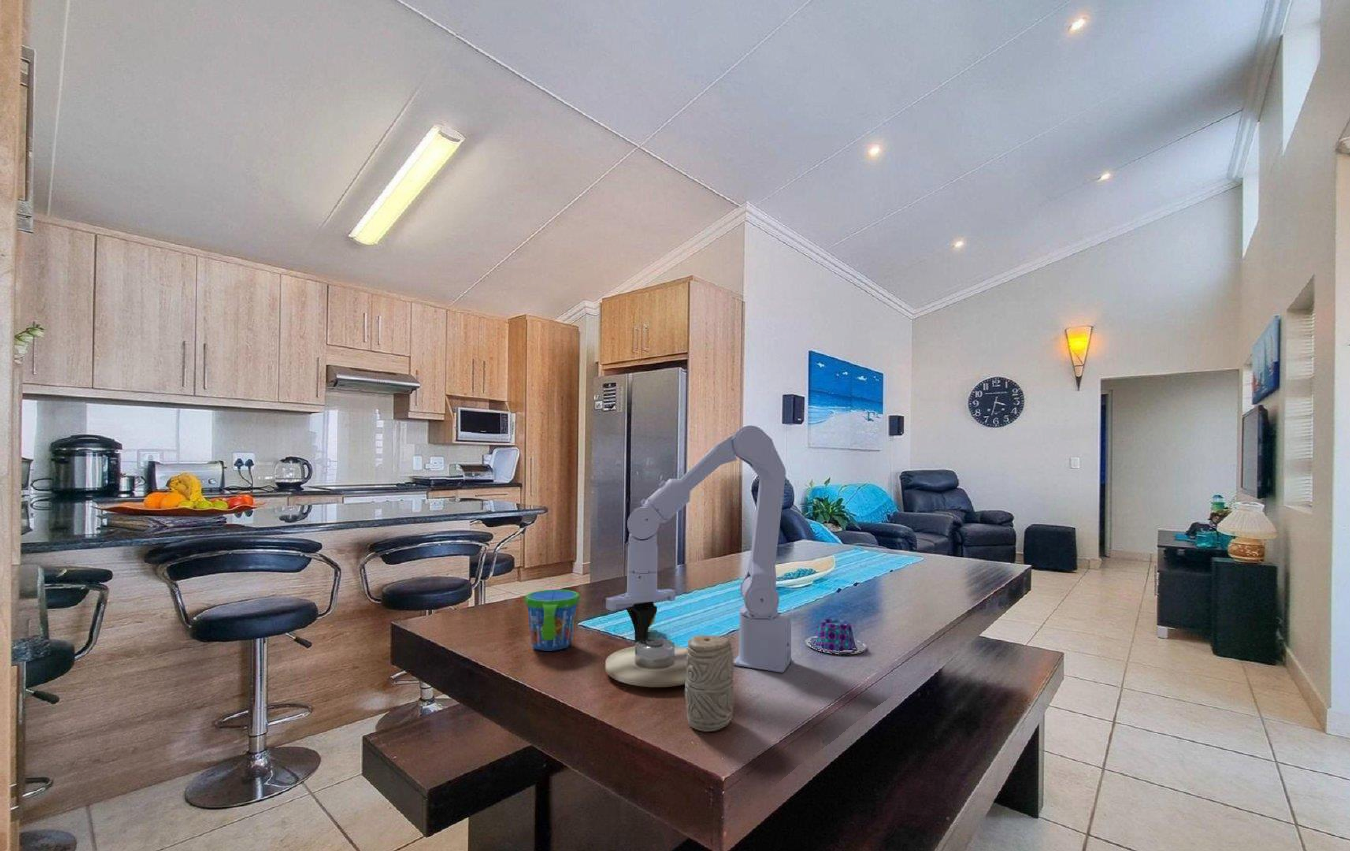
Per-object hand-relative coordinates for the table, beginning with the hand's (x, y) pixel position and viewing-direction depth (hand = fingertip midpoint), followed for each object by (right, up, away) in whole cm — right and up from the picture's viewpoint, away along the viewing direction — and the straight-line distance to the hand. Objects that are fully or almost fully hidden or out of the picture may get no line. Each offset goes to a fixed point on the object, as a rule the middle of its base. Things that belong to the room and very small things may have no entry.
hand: (640, 644), depth 107 cm
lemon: (-1, -4, +17) cm, 18 cm away
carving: (+11, -2, -27) cm, 29 cm away
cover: (+3, 0, -7) cm, 8 cm away
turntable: (+3, -2, -7) cm, 8 cm away
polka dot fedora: (+39, -5, +9) cm, 41 cm away
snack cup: (-18, -3, +6) cm, 20 cm away
